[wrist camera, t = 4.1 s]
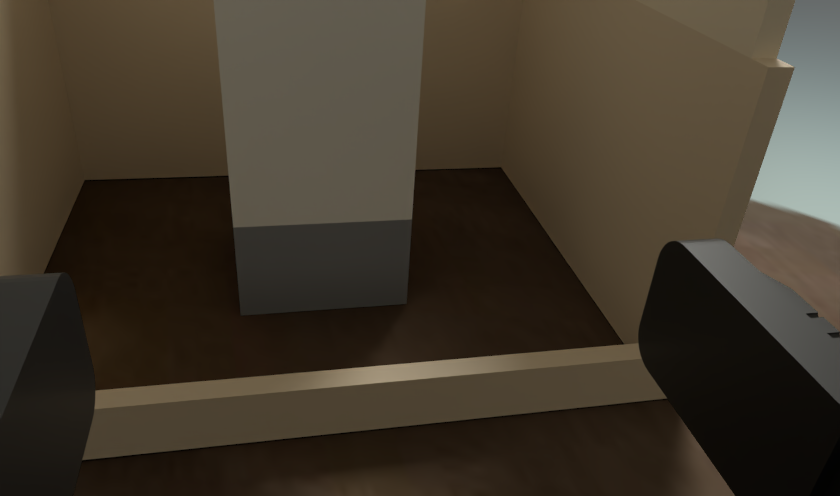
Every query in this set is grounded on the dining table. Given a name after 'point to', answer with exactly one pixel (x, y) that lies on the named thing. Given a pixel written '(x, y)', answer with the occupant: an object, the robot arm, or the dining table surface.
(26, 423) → the robot arm
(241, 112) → the box
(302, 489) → the dining table surface
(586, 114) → the storage bin
